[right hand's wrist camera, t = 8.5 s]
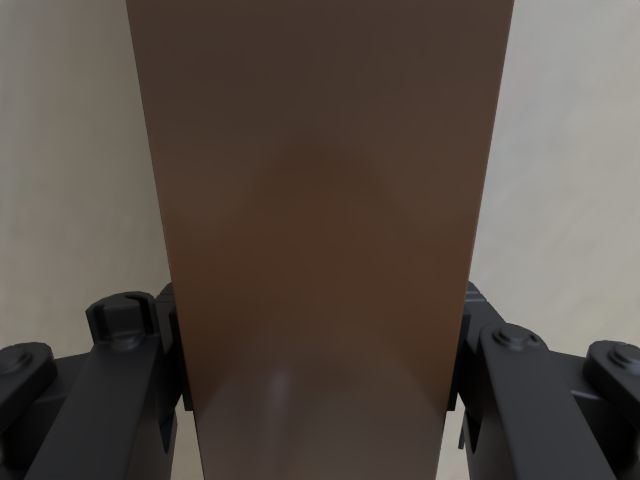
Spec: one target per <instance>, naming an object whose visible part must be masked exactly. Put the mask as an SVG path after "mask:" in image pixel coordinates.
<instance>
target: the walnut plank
mask: <svg viewBox="0 0 640 480" xmlns="http://www.w3.org/2000/svg"><path fill="white" fill-rule="evenodd" d="M126 5H127V11H128V17H129V24H130V30H131V36H132V42H133V48H134V54H135V60H136V66H137V72H138V78H139V85H140V91H141V97H142V103H143V109H144V115H145V121H146V127H147V133H148V140H149V146H150V152H151V158H152V164H153V170H154V176H155V182H156V188H157V195H158V201H159V207H160V213H161V219H162V225H163V231H164V237H165V243H166V250H167V256H168V262H169V268H170V274H171V280H172V286H173V292H174V298H175V305H176V311H177V317H178V323H179V329H180V335H181V341H182V347H183V353H184V360H185V366H186V372H187V378H188V384H189V390H190V396H191V402H192V408H193V415H194V421H195V427H196V433H197V439H198V445H199V451H200V457H201V463H202V470H203V476H204V480H436V473H437V467H438V461H439V455H440V449H441V443H442V437H443V431H444V425H445V419H446V413H447V407H448V400H449V394H450V388H451V382H452V376H453V370H454V364H455V358H456V352H457V346H458V340H459V334H460V328H461V321H462V315H463V309H464V303H465V297H466V291H467V285H468V279H469V273H470V267H471V261H472V255H473V248H474V242H475V236H476V230H477V224H478V218H479V212H480V206H481V200H482V194H483V188H484V182H485V175H486V169H487V163H488V157H489V151H490V145H491V139H492V133H493V127H494V121H495V115H496V109H497V103H498V96H499V90H500V84H501V78H502V72H503V66H504V60H505V54H506V48H507V42H508V36H509V30H510V23H511V17H512V11H513V5H514V0H126Z"/></svg>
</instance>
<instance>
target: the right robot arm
mask: <svg viewBox="0 0 640 480" xmlns="http://www.w3.org/2000/svg"><path fill="white" fill-rule="evenodd" d="M85 312H86V316H87V320H88V323H89V327H90V331H91V335H92V338H93V342H94V346H93V348H92V350H91V352H88V353H84V354H80V355H74V356H69V357H64V358H59V359H54V356H53V353H52V350H51V347H49V346H48V345H47V344H45V343H39V342H31V343H20V344H16V345H14V346H9V347H6V348H3V349H2V350H0V480H170V477H171V470H172V462H173V454H174V447H175V439H176V432H177V418H176V412H175V407H176V405H177V403H178V401H179V398H180V396H181V394H182V396H183V402H184V407H185V411H193V408H192V402H191V396H190V390H189V384H188V378H187V372H186V366H185V360H184V353H183V347H182V341H181V335H180V329H179V323H178V317H177V311H176V305H175V298H174V292H173V286H172V282H171V283H169V284H167V285H166V287H165V288H164V289H163V290H162V291H161V293H160V295H158V296H157V297H156V299H155V300H154V297H153V296H152V295H150V294H149V293H145V292H140V291H139V292H124V293H119V294H114V295H111V296H109V297H106V298H103V299H101V300H99V301H97V302H95V303H94V304H92V305H91V306H90V307H89V308H88V309H87V310H86V311H85ZM458 393H459V395H460V397H461V399H462V401H463V403H464V406H465V412H464V417H463V423H462V428H461V433H460V439H459V445H458V449H463V447H464V442H465V446H466V454H467V461H468V469H469V476H470V480H640V348H638V347H637V346H634V345H631V344H626V343H624V342H616V341H607V340H604V341H596V342H594V343H593V344H591V345H590V346H589V349H588V352H587V355H586V358H585V357H579V356H574V355H569V354H564V353H559V352H554V351H550V350H549V349H548V347H547V345H546V344H545V342H544V341H543V340H542V339H541V338H540V337H539V336H538V335H536V334H535V333H533V332H532V331H530V330H528V329H526V328H523V327H521V326H518V325H514V324H510V323H506V322H505V321H504V320H503V319H502V317H501V316H500V315H499V314H498V313H497V311H496V310H495V309H494V308H493V307H492V306H491V304H490V303H489V302H487V301H486V298H485V297H484V296H483V295H482V294H480V291H479V290H478V289H477V288H476V287H475V286H474V284H473V283H471V282H470V281H468V285H467V291H466V297H465V303H464V309H463V315H462V321H461V328H460V334H459V340H458V346H457V352H456V358H455V364H454V370H453V376H452V382H451V388H450V394H449V400H448V407H447V411H455V406H456V400H457V394H458Z"/></svg>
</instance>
